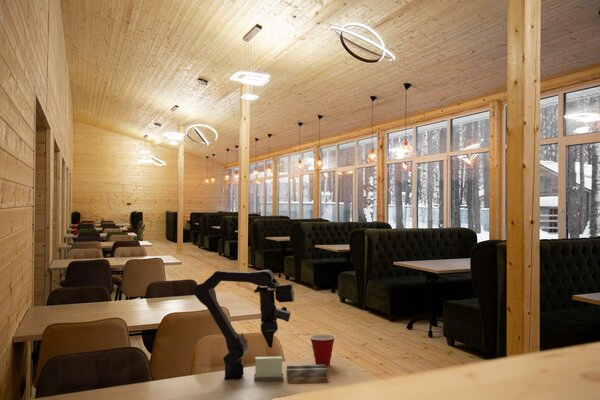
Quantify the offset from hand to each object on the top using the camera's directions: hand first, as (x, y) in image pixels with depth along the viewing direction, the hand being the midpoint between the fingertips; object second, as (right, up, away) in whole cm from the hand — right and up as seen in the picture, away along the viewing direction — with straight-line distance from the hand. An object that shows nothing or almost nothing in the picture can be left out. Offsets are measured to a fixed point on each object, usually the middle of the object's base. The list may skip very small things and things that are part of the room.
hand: (270, 344), depth 172 cm
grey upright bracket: (-1, -13, -1) cm, 13 cm away
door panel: (-1, -13, -1) cm, 13 cm away
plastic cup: (+21, -14, +16) cm, 30 cm away
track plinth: (+14, -13, 0) cm, 19 cm away
